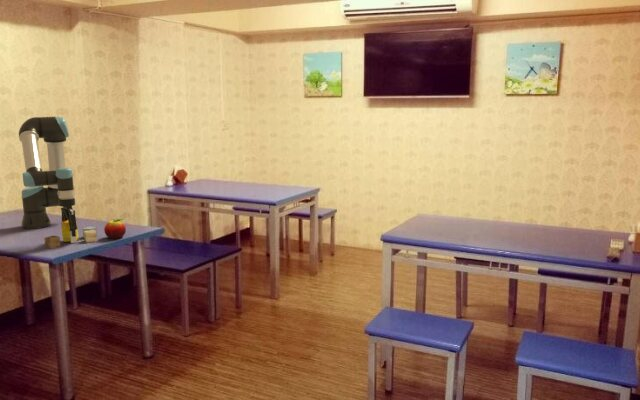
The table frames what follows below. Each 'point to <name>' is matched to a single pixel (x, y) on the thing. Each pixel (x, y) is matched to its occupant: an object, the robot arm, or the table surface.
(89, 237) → the maple cube
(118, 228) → the fruit
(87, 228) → the sage-green cube
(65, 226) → the supplement box
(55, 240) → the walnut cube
